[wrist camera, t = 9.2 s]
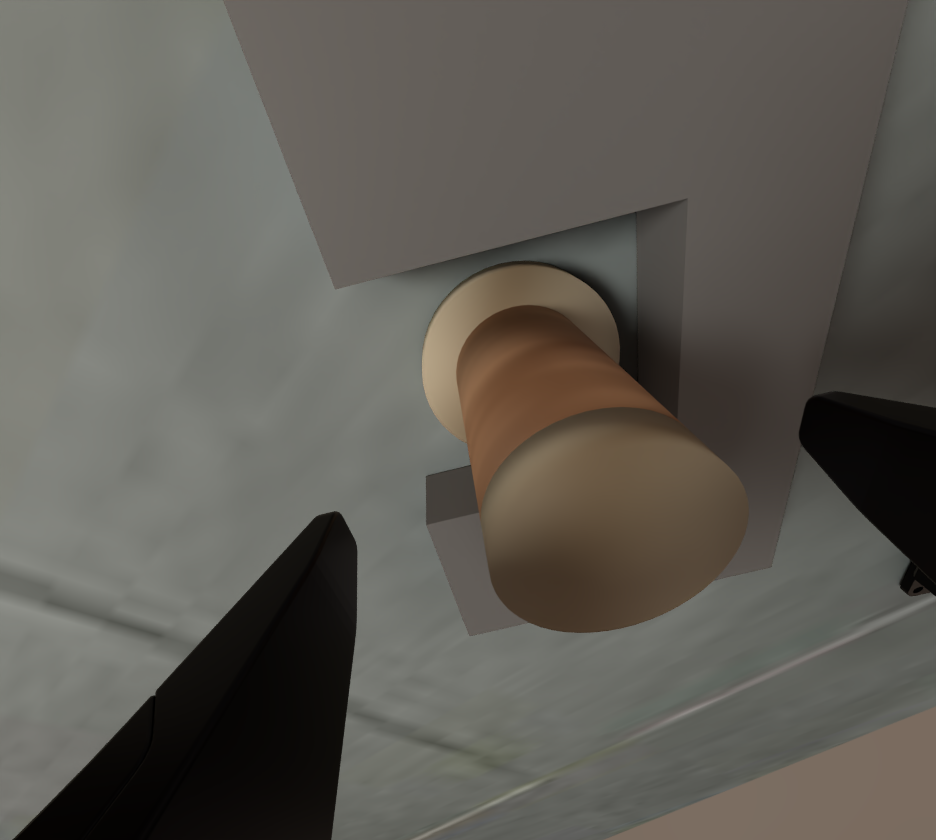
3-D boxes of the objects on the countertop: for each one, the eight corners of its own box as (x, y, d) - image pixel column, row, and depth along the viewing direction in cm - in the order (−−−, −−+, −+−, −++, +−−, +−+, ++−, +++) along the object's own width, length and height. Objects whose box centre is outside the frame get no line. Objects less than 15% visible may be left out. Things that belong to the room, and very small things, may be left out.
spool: (602, 237, 12) (868, 317, 5) (610, 415, 15) (779, 623, 8) (397, 289, 12) (360, 441, 5) (448, 454, 15) (470, 692, 8)
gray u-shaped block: (839, -225, 8) (999, -382, 6) (729, 521, 18) (771, 567, 16) (237, -52, 8) (169, -138, 6) (463, 582, 18) (469, 636, 16)
